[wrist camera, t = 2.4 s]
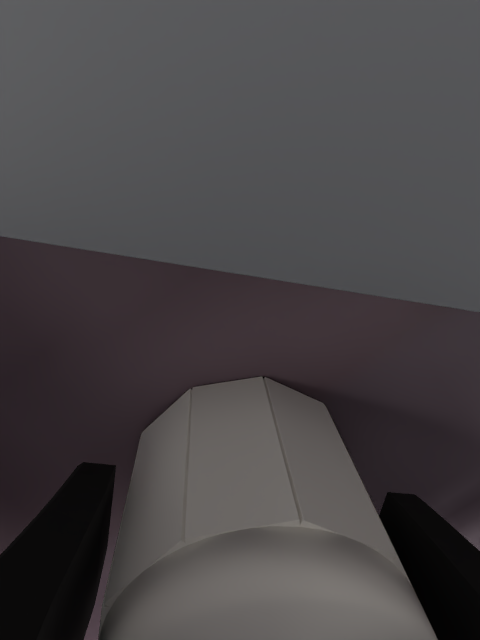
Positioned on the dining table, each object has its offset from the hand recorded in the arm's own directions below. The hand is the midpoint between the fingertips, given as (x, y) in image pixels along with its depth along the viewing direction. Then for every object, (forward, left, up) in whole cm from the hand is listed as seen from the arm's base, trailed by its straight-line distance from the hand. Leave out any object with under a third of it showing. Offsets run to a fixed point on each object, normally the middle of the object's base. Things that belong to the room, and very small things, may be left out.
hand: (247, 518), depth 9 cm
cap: (0, 0, -1) cm, 1 cm away
